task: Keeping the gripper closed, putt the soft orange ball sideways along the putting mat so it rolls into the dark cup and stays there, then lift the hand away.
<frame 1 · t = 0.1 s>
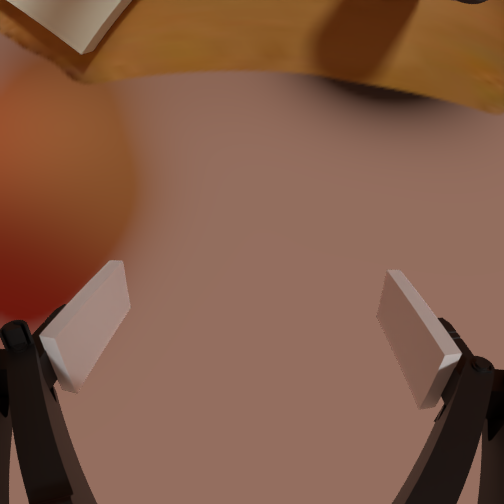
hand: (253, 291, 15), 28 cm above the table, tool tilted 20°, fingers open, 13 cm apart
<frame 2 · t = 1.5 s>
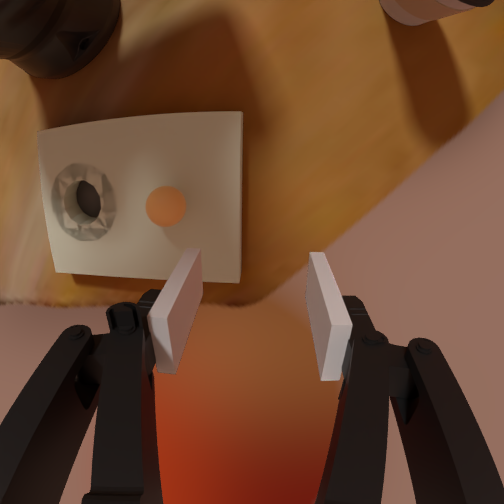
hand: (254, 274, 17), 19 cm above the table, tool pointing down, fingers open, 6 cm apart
coffee cup: (404, 1, 25), on the table
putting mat: (137, 195, 35), on the table
ball: (165, 206, 30), point 5 cm above the table, touching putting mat
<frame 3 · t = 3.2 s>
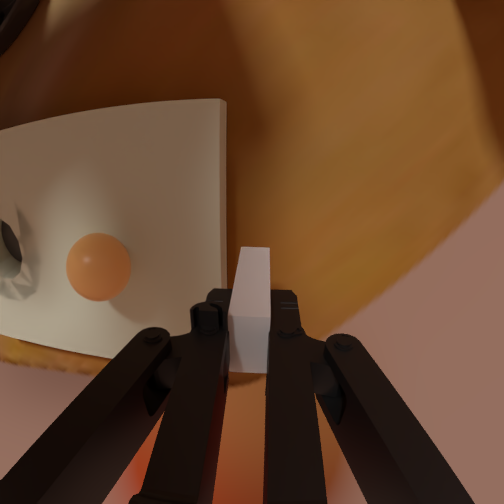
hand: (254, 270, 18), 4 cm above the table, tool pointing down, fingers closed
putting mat: (73, 236, 22), on the table
ball: (98, 267, 17), point 5 cm above the table, touching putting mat
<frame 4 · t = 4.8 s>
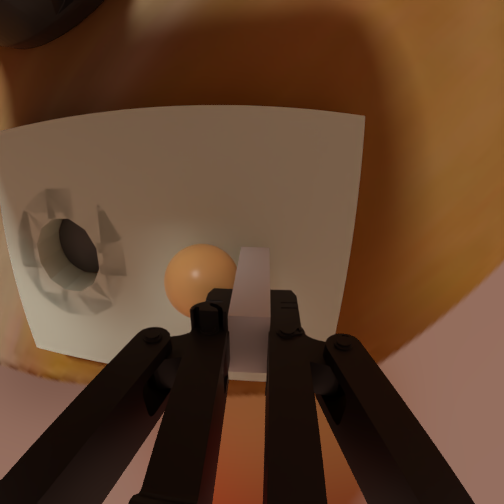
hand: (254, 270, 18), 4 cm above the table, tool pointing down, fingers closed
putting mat: (160, 244, 22), on the table
ball: (201, 281, 17), point 5 cm above the table, tilted 30°, touching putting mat
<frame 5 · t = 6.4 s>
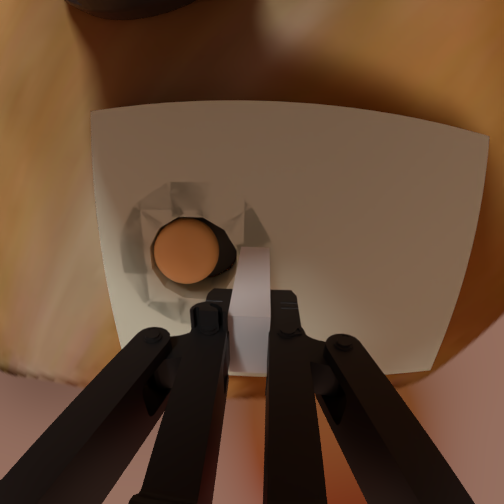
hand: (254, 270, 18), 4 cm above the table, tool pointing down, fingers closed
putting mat: (291, 245, 21), on the table
ball: (186, 250, 19), point 2 cm above the table, tilted 14°, touching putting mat
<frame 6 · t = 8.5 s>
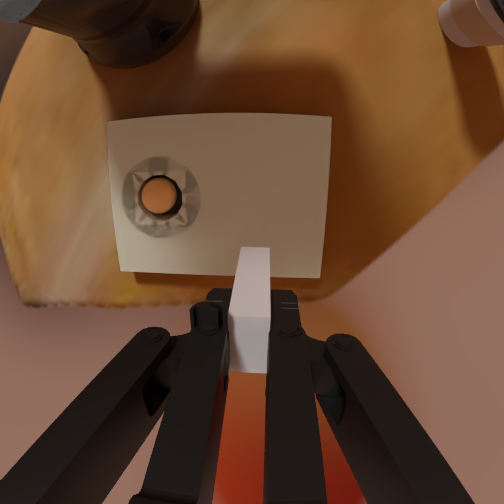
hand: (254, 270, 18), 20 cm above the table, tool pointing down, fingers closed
coffee cup: (458, 24, 26), on the table
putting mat: (217, 192, 36), on the table
ball: (159, 195, 35), point 2 cm above the table, tilted 18°, touching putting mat
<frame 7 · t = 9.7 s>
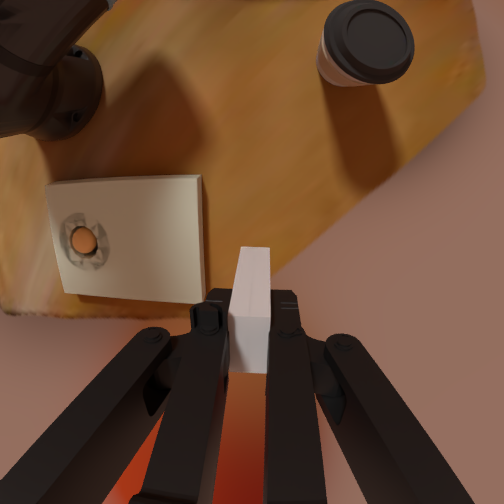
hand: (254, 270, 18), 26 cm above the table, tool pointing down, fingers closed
coffee cup: (341, 62, 35), on the table
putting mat: (125, 236, 46), on the table
ball: (84, 240, 44), point 2 cm above the table, tilted 21°, touching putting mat
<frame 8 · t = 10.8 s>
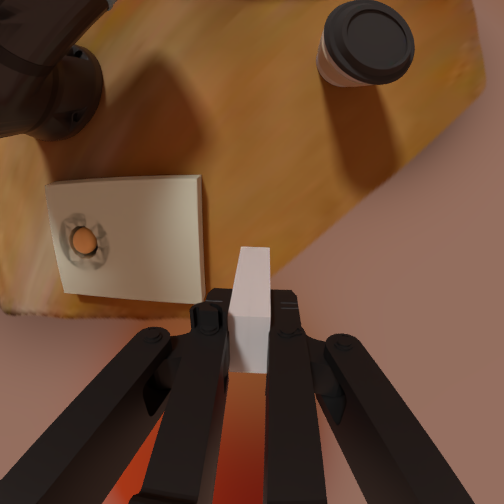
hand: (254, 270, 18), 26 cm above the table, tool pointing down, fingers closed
coffee cup: (341, 63, 35), on the table
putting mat: (125, 236, 46), on the table
ball: (85, 240, 44), point 2 cm above the table, tilted 24°, touching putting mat
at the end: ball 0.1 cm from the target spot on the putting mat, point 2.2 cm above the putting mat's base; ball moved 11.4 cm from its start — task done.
